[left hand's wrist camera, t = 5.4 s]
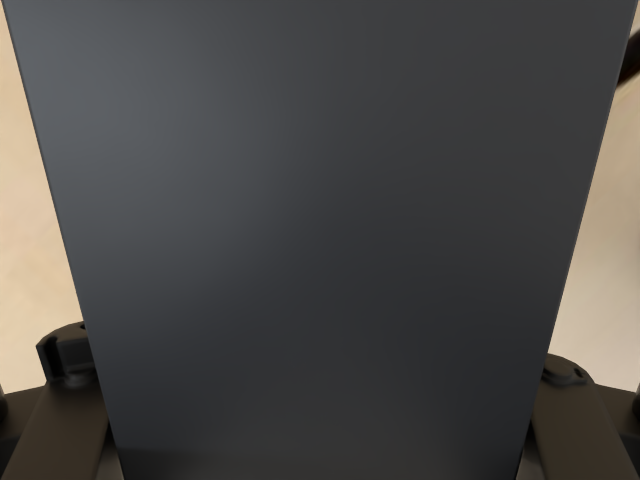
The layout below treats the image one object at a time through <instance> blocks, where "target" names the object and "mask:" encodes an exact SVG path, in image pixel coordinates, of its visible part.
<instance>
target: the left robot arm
mask: <svg viewBox="0 0 640 480" xmlns="http://www.w3.org/2000/svg"><path fill="white" fill-rule="evenodd" d="M36 349H37V352H38V355H39V358H40V361H41V364H42V367H43V371H44V374H45V377H46V380H47V381H46V384H45V386H41V387H37V388H32V389H27V390H23V391H18V392H13V393H8V394H4V392H3V390H2V387H1V385H0V480H124V476H123V472H122V468H121V464H120V460H119V456H118V453H117V449H116V445H115V441H114V437H113V433H112V429H111V425H110V421H109V418H108V414H107V410H106V406H105V402H104V398H103V394H102V390H101V386H100V383H99V379H98V375H97V371H96V367H95V363H94V359H93V355H92V351H91V348H90V344H89V340H88V336H87V332H86V328H85V324H84V321H81V322H77V323H73V324H69V325H66V326H64V327H61V328H59V329H56V330H54V331H53V332H51V333H50V334H48V335H46V336H45V337H43V338H42V339H41V340H40V341H39V343H38V344H37V345H36ZM515 480H640V384H639V386H638V389H637V391H636V393H635V392H631V391H626V390H621V389H616V388H611V387H607V386H602V385H598V384H595V383H594V381H593V379H592V378H591V377H590V375H589V374H588V373H587V371H585V370H584V369H583V368H581V367H580V366H578V365H577V364H576V363H574V362H572V361H570V360H567V359H565V358H563V357H560V356H556V355H553V354H549V353H547V357H546V361H545V364H544V368H543V372H542V376H541V380H540V384H539V388H538V392H537V395H536V399H535V403H534V407H533V411H532V415H531V419H530V423H529V426H528V430H527V434H526V438H525V442H524V446H523V450H522V454H521V457H520V461H519V465H518V469H517V473H516V477H515Z"/></svg>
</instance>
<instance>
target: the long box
mask: <svg viewBox="0 0 640 480" xmlns="http://www.w3.org/2000/svg"><path fill="white" fill-rule="evenodd" d="M1 1H2V5H3V9H4V13H5V17H6V21H7V25H8V29H9V32H10V36H11V40H12V44H13V48H14V52H15V56H16V60H17V64H18V67H19V71H20V75H21V79H22V83H23V87H24V91H25V95H26V99H27V102H28V106H29V110H30V114H31V118H32V122H33V126H34V130H35V134H36V137H37V141H38V145H39V149H40V153H41V157H42V161H43V165H44V169H45V172H46V176H47V180H48V184H49V188H50V192H51V196H52V200H53V204H54V207H55V211H56V215H57V219H58V223H59V227H60V231H61V235H62V239H63V242H64V246H65V250H66V254H67V258H68V262H69V266H70V270H71V274H72V277H73V281H74V285H75V289H76V293H77V297H78V301H79V305H80V309H81V313H82V316H83V320H84V324H85V328H86V332H87V336H88V340H89V344H90V348H91V351H92V355H93V359H94V363H95V367H96V371H97V375H98V379H99V383H100V386H101V390H102V394H103V398H104V402H105V406H106V410H107V414H108V418H109V421H110V425H111V429H112V433H113V437H114V441H115V445H116V449H117V453H118V456H119V460H120V464H121V468H122V472H123V476H124V480H515V477H516V473H517V469H518V465H519V461H520V457H521V454H522V450H523V446H524V442H525V438H526V434H527V430H528V426H529V423H530V419H531V415H532V411H533V407H534V403H535V399H536V395H537V392H538V388H539V384H540V380H541V376H542V372H543V368H544V364H545V361H546V357H547V353H548V349H549V345H550V341H551V337H552V333H553V330H554V326H555V322H556V318H557V314H558V310H559V306H560V302H561V298H562V295H563V291H564V287H565V283H566V279H567V275H568V271H569V267H570V264H571V260H572V256H573V252H574V248H575V244H576V240H577V236H578V233H579V229H580V225H581V221H582V217H583V213H584V209H585V205H586V202H587V198H588V194H589V190H590V186H591V182H592V178H593V174H594V170H595V167H596V163H597V159H598V155H599V151H600V147H601V143H602V139H603V136H604V132H605V128H606V124H607V120H608V116H609V112H610V108H611V105H612V101H613V97H614V93H615V89H616V85H617V81H618V77H619V74H620V70H621V66H622V62H623V58H624V54H625V50H626V46H627V42H628V39H629V35H630V31H631V27H632V23H633V19H634V15H635V11H636V8H637V4H638V0H1Z"/></svg>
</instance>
